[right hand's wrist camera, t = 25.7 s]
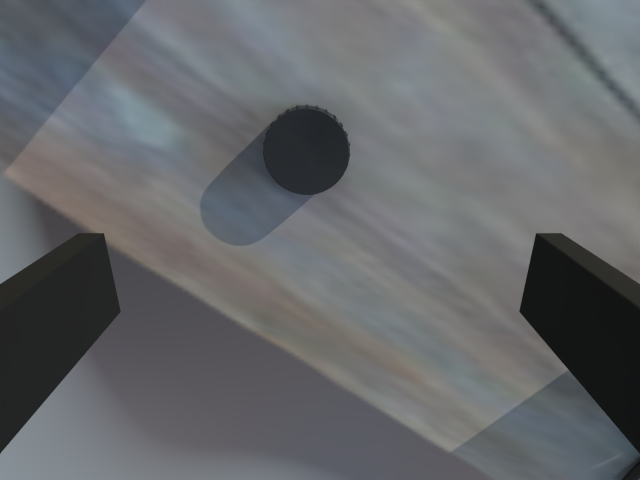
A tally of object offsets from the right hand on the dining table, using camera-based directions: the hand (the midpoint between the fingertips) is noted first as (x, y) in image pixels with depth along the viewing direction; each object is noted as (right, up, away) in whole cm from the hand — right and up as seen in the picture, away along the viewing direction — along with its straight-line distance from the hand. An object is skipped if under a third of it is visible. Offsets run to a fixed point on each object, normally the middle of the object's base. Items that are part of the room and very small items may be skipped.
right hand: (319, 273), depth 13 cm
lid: (-1, +7, +15) cm, 17 cm away
